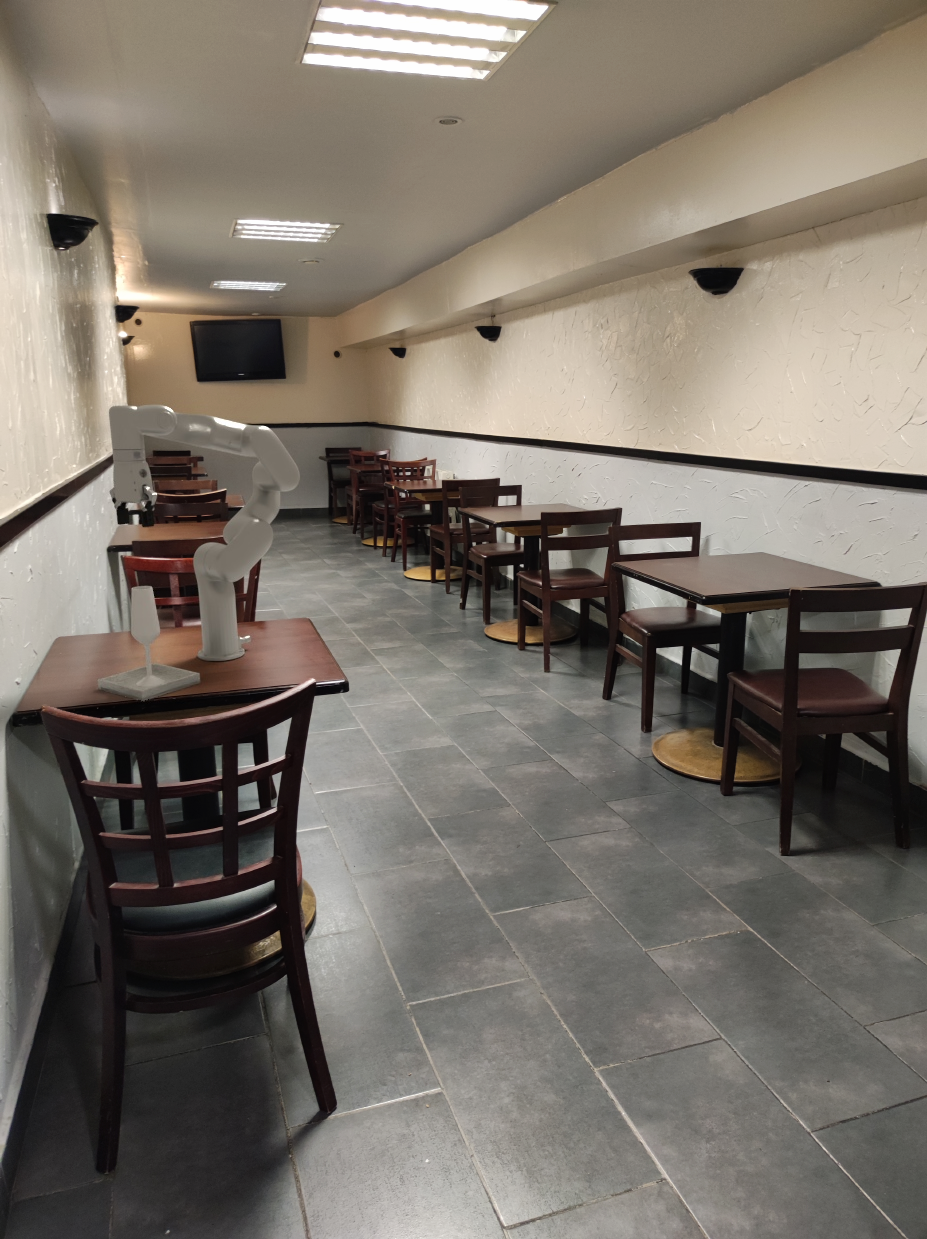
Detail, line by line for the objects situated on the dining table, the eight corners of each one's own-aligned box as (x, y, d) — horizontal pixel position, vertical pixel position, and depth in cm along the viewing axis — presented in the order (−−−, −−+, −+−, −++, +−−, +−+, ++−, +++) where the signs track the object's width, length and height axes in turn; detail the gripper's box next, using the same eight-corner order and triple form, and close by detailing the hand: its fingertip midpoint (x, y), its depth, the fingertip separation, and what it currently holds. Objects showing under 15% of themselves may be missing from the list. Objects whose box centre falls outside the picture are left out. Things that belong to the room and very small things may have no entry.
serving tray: (156, 672, 222) (155, 662, 222) (200, 682, 213) (199, 673, 213) (98, 689, 208) (97, 679, 208) (142, 701, 199) (141, 691, 199)
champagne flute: (134, 687, 207) (125, 591, 201) (137, 679, 213) (129, 585, 208) (163, 685, 208) (155, 590, 203) (165, 677, 215) (158, 584, 209)
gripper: (164, 456, 209) (170, 526, 213) (120, 455, 218) (127, 521, 222) (138, 458, 203) (145, 529, 207) (94, 456, 212) (101, 524, 216)
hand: (135, 525), depth 215 cm, fingers open, 9 cm apart
